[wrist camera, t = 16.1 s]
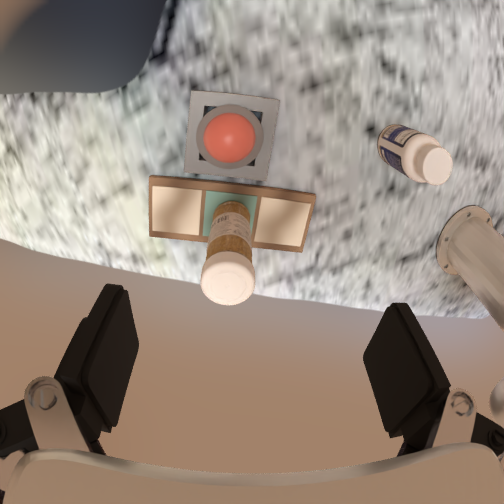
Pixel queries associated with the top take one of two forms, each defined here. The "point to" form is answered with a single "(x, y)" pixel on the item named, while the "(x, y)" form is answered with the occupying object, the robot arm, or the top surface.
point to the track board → (217, 192)
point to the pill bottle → (415, 154)
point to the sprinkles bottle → (229, 256)
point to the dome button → (229, 137)
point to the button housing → (208, 98)
